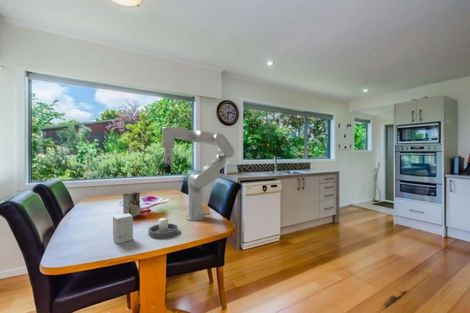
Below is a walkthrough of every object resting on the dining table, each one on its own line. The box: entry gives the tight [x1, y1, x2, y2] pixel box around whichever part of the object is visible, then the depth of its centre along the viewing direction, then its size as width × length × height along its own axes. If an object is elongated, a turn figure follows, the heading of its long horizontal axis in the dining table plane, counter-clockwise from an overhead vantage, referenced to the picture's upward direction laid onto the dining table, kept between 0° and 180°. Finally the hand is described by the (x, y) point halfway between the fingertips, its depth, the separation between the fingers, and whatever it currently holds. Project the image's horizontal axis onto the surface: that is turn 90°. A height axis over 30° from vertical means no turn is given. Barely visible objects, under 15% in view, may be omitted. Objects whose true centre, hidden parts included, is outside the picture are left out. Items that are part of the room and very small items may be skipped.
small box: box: [112, 213, 134, 245], centre depth 119 cm, size 8×6×13 cm
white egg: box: [158, 217, 169, 233], centre depth 130 cm, size 5×5×7 cm
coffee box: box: [122, 191, 141, 217], centre depth 162 cm, size 9×6×16 cm
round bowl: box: [147, 222, 179, 240], centre depth 130 cm, size 16×16×3 cm
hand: (168, 172), depth 148 cm, fingers open, 9 cm apart
